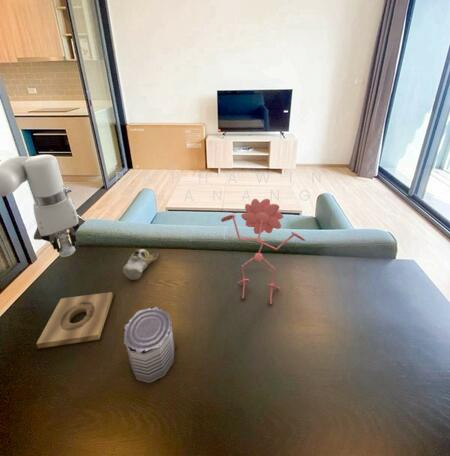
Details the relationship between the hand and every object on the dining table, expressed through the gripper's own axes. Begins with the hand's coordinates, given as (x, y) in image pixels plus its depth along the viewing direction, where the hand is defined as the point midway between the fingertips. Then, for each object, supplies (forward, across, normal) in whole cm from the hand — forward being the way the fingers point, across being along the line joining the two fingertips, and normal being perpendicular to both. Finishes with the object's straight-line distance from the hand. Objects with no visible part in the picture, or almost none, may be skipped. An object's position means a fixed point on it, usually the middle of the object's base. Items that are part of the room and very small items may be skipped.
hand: (65, 246), depth 78 cm
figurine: (+19, -50, +38) cm, 66 cm away
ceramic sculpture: (+19, -20, +4) cm, 28 cm away
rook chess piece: (+3, 0, 0) cm, 3 cm away
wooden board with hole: (+19, +2, +12) cm, 22 cm away
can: (+19, -11, +36) cm, 43 cm away
